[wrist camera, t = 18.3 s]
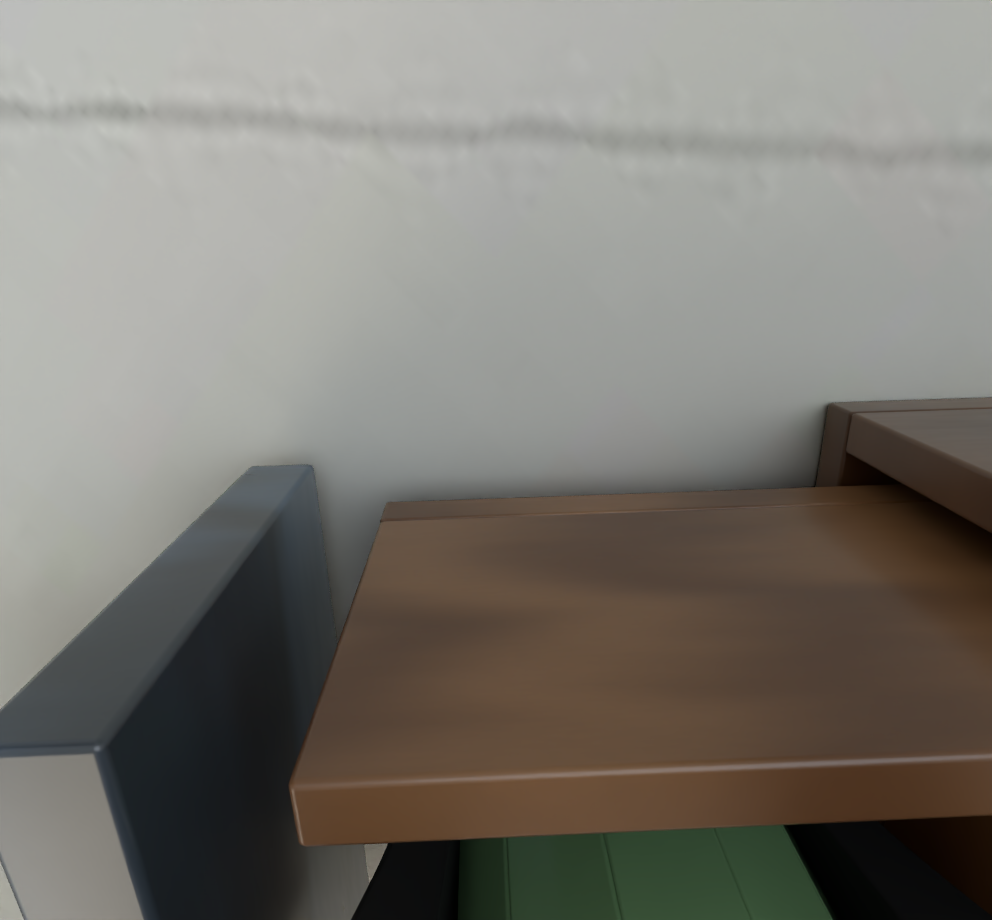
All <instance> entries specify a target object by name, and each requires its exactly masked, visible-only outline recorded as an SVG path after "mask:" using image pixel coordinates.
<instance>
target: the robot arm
mask: <svg viewBox="0 0 992 920" xmlns="http://www.w3.org/2000/svg"><path fill="white" fill-rule="evenodd" d="M788 827H789V829H790V831H791V832H792V834H793V836H794V838H795V840H796V842H797V844H798V845H799V847H800V849H801V851H802V853H803V855H804V857H805V859H806V860H807V862H808V864H809V866H810V868H811V870H812V872H813V873H814V875H815V877H816V879H817V881H818V883H819V885H820V886H821V888H822V890H823V892H824V894H825V896H826V898H827V899H828V901H829V903H830V905H831V907H832V909H833V911H834V913H835V914H836V916H837V918H838V920H992V916H991V915H990V914H989V913H987V912H986V911H985V910H983V909H982V908H981V907H980V906H978V905H977V904H976V903H974V902H973V901H972V900H971V899H970V898H968V897H967V896H966V895H965V894H963V893H962V892H961V891H960V890H958V889H957V888H956V887H955V886H954V885H952V884H951V883H950V882H949V881H947V880H946V879H945V878H944V877H942V876H941V875H940V874H939V873H938V872H936V871H935V870H934V869H933V868H931V867H930V866H929V865H928V864H927V863H925V862H924V861H923V860H922V859H921V858H920V857H918V856H917V855H916V854H915V853H914V852H912V851H911V850H910V849H909V848H908V847H907V846H905V845H904V844H903V843H902V842H901V841H900V840H899V839H897V838H896V837H895V836H894V835H893V834H892V833H890V832H889V831H888V830H887V829H886V828H885V827H884V826H883V825H881V824H880V823H879V822H878V821H863V822H841V823H819V824H797V825H788ZM458 870H459V840H445V841H423V842H401V843H388V845H387V848H386V850H385V852H384V854H383V857H382V859H381V861H380V863H379V865H378V867H377V869H376V872H375V874H374V876H373V878H372V880H371V881H370V883H369V885H368V887H367V889H366V891H365V893H364V895H363V897H362V899H361V901H360V903H359V905H358V907H357V909H356V911H355V913H354V914H353V916H352V918H351V920H457V903H458Z"/></svg>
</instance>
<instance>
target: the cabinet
mask: <svg viewBox="0 0 992 920" xmlns="http://www.w3.org/2000/svg"><path fill="white" fill-rule="evenodd" d="M894 484H904V485H906V486H907V487H909V488H911V489H913V490H915V491H916V492H918V493H920V494H922V495H924V496H925V497H927V498H929V499H931V500H932V501H934V502H936V503H938V504H940V505H941V506H943V507H945V508H947V509H949V510H950V511H952V512H954V513H956V514H958V515H959V516H961V517H963V518H965V519H967V520H968V521H970V522H972V523H974V524H976V525H977V526H979V527H981V528H983V529H984V530H986V531H988V532H990V533H992V398H961V399H931V400H900V401H869V402H839V403H830V404H829V405H828V412H827V418H826V424H825V430H824V437H823V443H822V449H821V456H820V462H819V468H818V475H817V481H816V487H837V486H866V485H894Z"/></svg>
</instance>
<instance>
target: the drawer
mask: <svg viewBox="0 0 992 920" xmlns="http://www.w3.org/2000/svg"><path fill="white" fill-rule="evenodd" d="M863 821H878V822H879V823H880V824H881V825H883V826H884V827H885V828H886V829H887V830H888V831H889V832H890V833H892V834H893V835H894V836H895V837H896V838H897V839H899V840H900V841H901V842H902V843H903V844H904V845H905V846H907V847H908V848H909V849H910V850H911V851H912V852H914V853H915V854H916V855H917V856H918V857H920V858H921V859H922V860H923V861H924V862H925V863H927V864H928V865H929V866H930V867H931V868H933V869H934V870H935V871H936V872H938V873H939V874H940V875H941V876H942V877H944V878H945V879H946V880H947V881H949V882H950V883H951V884H952V885H954V886H955V887H956V888H957V889H958V890H960V891H961V892H962V893H963V894H965V895H966V896H967V897H968V898H970V899H971V900H972V901H973V902H974V903H976V904H977V905H978V906H980V907H981V908H982V909H983V910H985V911H986V912H987V913H989V914H990V915H991V916H992V533H990V532H988V531H986V530H984V529H983V528H981V527H979V526H977V525H976V524H974V523H972V522H970V521H968V520H967V519H965V518H963V517H961V516H959V515H958V514H956V513H954V512H952V511H950V510H949V509H947V508H945V507H943V506H941V505H940V504H938V503H936V502H934V501H932V500H931V499H929V498H927V497H925V496H924V495H922V494H920V493H918V492H916V491H915V490H913V489H911V488H909V487H907V486H906V485H904V484H894V485H866V486H837V487H809V488H780V489H752V490H724V491H695V492H667V493H639V494H610V495H582V496H553V497H525V498H497V499H468V500H440V501H411V502H388V503H386V506H385V508H384V511H383V514H382V517H381V520H380V525H379V528H378V531H377V534H376V536H375V539H374V542H373V545H372V548H371V551H370V554H369V556H368V559H367V562H366V565H365V568H364V571H363V573H362V576H361V579H360V582H359V585H358V588H357V590H356V593H355V596H354V599H353V602H352V605H351V608H350V610H349V613H348V616H347V619H346V622H345V625H344V627H343V630H342V633H341V636H340V639H339V642H338V644H337V639H336V632H335V624H334V617H333V609H332V602H331V594H330V587H329V579H328V572H327V564H326V556H325V549H324V541H323V534H322V526H321V519H320V511H319V504H318V496H317V489H316V481H315V474H314V468H313V466H312V465H281V466H253V467H250V468H249V469H248V470H247V471H246V472H245V473H244V474H243V475H242V476H241V477H240V478H239V479H237V480H236V481H235V482H234V483H233V484H232V485H231V486H230V487H229V488H228V489H227V490H226V491H225V492H224V493H223V494H222V495H221V496H220V497H219V498H218V499H217V500H216V501H215V502H214V503H213V504H212V505H211V506H210V507H209V508H208V509H207V510H206V511H204V512H203V513H202V514H201V515H200V516H199V517H198V518H197V519H196V520H195V521H194V522H193V523H192V524H191V525H190V526H189V527H188V528H187V529H186V530H185V531H184V532H183V533H182V534H181V535H180V536H179V537H178V538H177V539H176V540H175V541H174V542H173V543H171V544H170V545H169V546H168V547H167V548H166V549H165V550H164V551H163V552H162V553H161V554H160V555H159V556H158V557H157V558H156V559H155V560H154V561H153V562H152V563H151V564H150V565H149V566H148V567H147V568H146V569H145V570H144V571H143V572H142V573H141V574H140V575H138V576H137V577H136V578H135V579H134V580H133V581H132V582H131V583H130V584H129V585H128V586H127V587H126V588H125V589H124V590H123V591H122V592H121V593H120V594H119V595H118V596H117V597H116V598H115V599H114V600H113V601H112V602H111V603H110V604H109V605H108V606H107V607H105V608H104V609H103V610H102V611H101V612H100V613H99V614H98V615H97V616H96V617H95V618H94V619H93V620H92V621H91V622H90V623H89V624H88V625H87V626H86V627H85V628H84V629H83V630H82V631H81V632H80V633H79V634H78V635H77V636H76V637H75V638H74V639H72V640H71V641H70V642H69V643H68V644H67V645H66V646H65V647H64V648H63V649H62V650H61V651H60V652H59V653H58V654H57V655H56V656H55V657H54V658H53V659H52V660H51V661H50V662H49V663H48V664H47V665H46V666H45V667H44V668H43V669H42V670H41V671H39V672H38V673H37V674H36V675H35V676H34V677H33V678H32V679H31V680H30V681H29V682H28V683H27V684H26V685H25V686H24V687H23V688H22V689H21V690H20V691H19V692H18V693H17V694H16V695H15V696H14V697H13V698H12V699H11V700H10V701H9V702H8V703H6V704H5V705H4V706H3V707H2V708H1V709H0V861H1V864H2V866H3V869H4V871H5V874H6V876H7V879H8V881H9V883H10V886H11V888H12V891H13V893H14V896H15V898H16V901H17V903H18V906H19V908H20V911H21V913H22V916H23V918H24V920H351V918H352V916H353V914H354V913H355V911H356V909H357V907H358V905H359V903H360V901H361V899H362V897H363V895H364V893H365V891H366V889H367V887H368V885H369V880H368V873H367V865H366V858H365V850H364V844H379V843H401V842H423V841H445V840H467V839H489V838H511V837H533V836H555V835H577V834H599V833H621V832H643V831H665V830H687V829H709V828H731V827H753V826H775V825H797V824H819V823H841V822H863Z"/></svg>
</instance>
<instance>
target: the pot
mask: <svg viewBox="0 0 992 920" xmlns="http://www.w3.org/2000/svg"><path fill="white" fill-rule="evenodd" d="M457 920H838V918H837V916H836V914H835V913H834V911H833V909H832V907H831V905H830V903H829V901H828V899H827V898H826V896H825V894H824V892H823V890H822V888H821V886H820V885H819V883H818V881H817V879H816V877H815V875H814V873H813V872H812V870H811V868H810V866H809V864H808V862H807V860H806V859H805V857H804V855H803V853H802V851H801V849H800V847H799V845H798V844H797V842H796V840H795V838H794V836H793V834H792V832H791V831H790V829H789V827H788V825H775V826H753V827H731V828H709V829H687V830H665V831H643V832H621V833H599V834H577V835H555V836H533V837H511V838H489V839H467V840H459V870H458V903H457Z"/></svg>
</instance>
